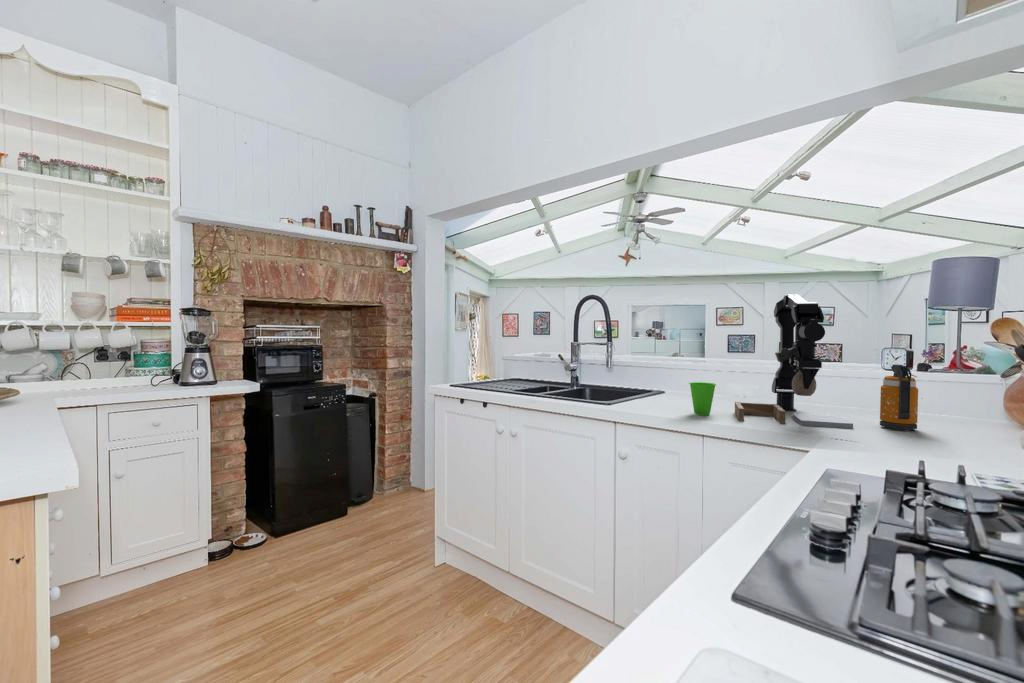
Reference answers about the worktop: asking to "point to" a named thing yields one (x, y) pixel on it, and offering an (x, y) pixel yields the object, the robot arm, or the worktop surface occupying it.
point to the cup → (702, 397)
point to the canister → (899, 400)
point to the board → (821, 420)
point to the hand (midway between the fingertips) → (803, 387)
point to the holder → (759, 410)
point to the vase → (802, 386)
